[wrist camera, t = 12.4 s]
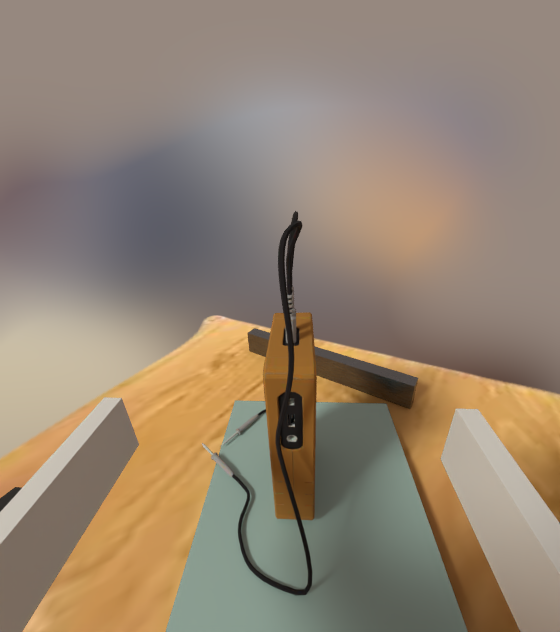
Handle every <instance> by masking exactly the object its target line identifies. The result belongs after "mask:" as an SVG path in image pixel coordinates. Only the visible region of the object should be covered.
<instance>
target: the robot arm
mask: <svg viewBox="0 0 560 632" xmlns="http://www.w3.org/2000/svg"><path fill="white" fill-rule="evenodd" d="M138 445H139V443H138V441H137V438H136V435H135V433H134V430H133V427H132V424H131V422H130V419H129V416H128V414H127V411H126V408H125V406H124V403H123V400H122V398H104V399H103V400H102V401H101V402H100V403H99V404H98V405H97V406H96V407H95V408H94V410H93V411H92V412H91V413H90V414H89V415H88V416H87V417H86V418H85V419H84V421H83V422H82V423H81V424H80V425H79V426H78V427H77V428H76V429H75V430H74V432H73V433H72V434H71V435H70V436H69V437H68V438H67V439H66V440H65V441H64V443H63V444H62V445H61V446H60V447H59V448H58V449H57V450H56V451H55V452H54V454H53V455H52V456H51V457H50V458H49V459H48V460H47V461H46V462H45V463H44V465H43V466H42V467H41V468H40V469H39V470H38V471H37V472H36V473H35V474H34V476H33V477H32V478H31V479H30V480H29V481H28V482H27V483H26V484H25V485H24V487H23V488H19V487H15V488H14V489H12V490H11V491H10V492H8V493H7V494H6V495H4V496H3V497H2V498H0V632H22V631H23V629H24V628H25V626H26V625H27V623H28V621H29V620H30V618H31V617H32V615H33V613H34V612H35V610H36V609H37V607H38V605H39V604H40V602H41V601H42V599H43V597H44V596H45V594H46V593H47V591H48V589H49V588H50V586H51V585H52V583H53V581H54V580H55V578H56V577H57V575H58V573H59V572H60V570H61V569H62V567H63V565H64V564H65V562H66V561H67V559H68V557H69V556H70V554H71V553H72V551H73V549H74V548H75V546H76V544H77V543H78V541H79V540H80V538H81V536H82V535H83V533H84V532H85V530H86V528H87V527H88V525H89V524H90V522H91V520H92V519H93V517H94V516H95V514H96V512H97V511H98V509H99V508H100V506H101V504H102V503H103V501H104V500H105V498H106V496H107V495H108V493H109V492H110V490H111V488H112V487H113V485H114V484H115V482H116V480H117V479H118V477H119V476H120V474H121V472H122V471H123V469H124V468H125V466H126V464H127V463H128V461H129V460H130V458H131V456H132V455H133V453H134V452H135V450H136V448H137V447H138ZM441 461H442V463H443V465H444V467H445V470H446V472H447V474H448V476H449V478H450V480H451V483H452V485H453V487H454V489H455V491H456V493H457V496H458V498H459V500H460V502H461V504H462V506H463V509H464V511H465V513H466V515H467V517H468V519H469V522H470V524H471V526H472V528H473V530H474V532H475V535H476V537H477V539H478V541H479V543H480V545H481V548H482V550H483V552H484V554H485V556H486V558H487V561H488V563H489V565H490V567H491V569H492V571H493V574H494V576H495V578H496V580H497V582H498V584H499V587H500V589H501V591H502V593H503V595H504V597H505V600H506V602H507V604H508V606H509V608H510V610H511V613H512V615H513V617H514V619H515V621H516V623H517V626H518V628H519V630H520V632H560V523H559V522H558V520H557V519H556V517H555V516H554V515H553V513H552V512H551V510H550V509H549V508H548V506H547V505H546V503H545V502H544V501H543V499H542V498H541V496H540V495H539V494H538V492H537V491H536V490H535V488H534V487H533V485H532V484H531V483H530V481H529V480H528V478H527V477H526V476H525V474H524V473H523V471H522V470H521V469H520V467H519V466H518V464H517V463H516V462H515V460H514V459H513V457H512V456H511V455H510V453H509V452H508V450H507V449H506V448H505V446H504V445H503V443H502V442H501V441H500V439H499V438H498V437H497V435H496V434H495V432H494V431H493V430H492V428H491V427H490V425H489V424H488V423H487V421H486V420H485V418H484V417H483V416H482V414H481V413H480V411H479V410H478V409H456V410H455V413H454V417H453V420H452V423H451V427H450V430H449V433H448V436H447V440H446V443H445V446H444V450H443V453H442V456H441Z"/></svg>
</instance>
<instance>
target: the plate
mask: <svg viewBox="0 0 560 632" xmlns="http://www.w3.org/2000/svg"><path fill="white" fill-rule="evenodd" d="M265 409H266V405H265V401H235V403H234V407H233V410H232V413H231V416H230V420H229V423H228V426H227V430H226V433H225V436H224V440H223V443H224V442H225V441H226V440H227V439H228V438H230V437H231V436H232V435H233V434H234V433H236V429H238V428H239V427H240V426H242V425H243V424H244V423H245V422H246V421H248V420H249V419H250V418H251V417H253V416H254V415H256V414H258V413H259V412H261V411H262V410H265ZM223 443H222V444H223ZM219 457H220V458H221V459H222V460H223V461H224V462H225V463H226V464H227V465H228V466H229V467H230V468H231V469H232V471H233V472H234V474H235V475H236V476H237V477H238V478H239V479H240V480H241V481H242V482H243V483H244V485H245V486H246V487H247V488H248V490H249V493H250V501H249V505H248V507H247V510H246V512H245V515H244V517H243V521H242V526H241V534H242V541H243V545H244V549H245V552H246V555H247V557H248V559H249V561H250V562H251V564H252V565H253V566H254V567H255V568H256V570H257V571H259V572H260V573H261V574H263V575H264V576H266V577H268V578H269V579H271V580H273V581H275V582H278V583H280V584H282V585H285V586H288V587H291V588H293V589H305V587H306V586H307V584H308V569H307V562H306V555H305V551H304V547H303V542H302V538H301V534H300V530H299V527H298V523H297V520H294V519H277V518H276V516H275V505H274V494H273V483H272V472H271V462H270V450H269V439H268V428H267V416H266V412H264V413H262V414H261V415H260V416H259V417H258V418H257V419H256V420H255V421H254V422H253V423H252V424H251V425H250V426H248V427H247V428H246V429H245V430H244V431H242V432H241V434H240V435H238V434H236V435H235V436H234V437H233V438H232V439H231V440H229V441H228V442H227V443H226V444H224V445H222V446H221V450H220V453H219ZM246 500H247V493H246V492H245V490H244V489H243V488H242V487H241V485H240V484H239V483H238V482H237V481H236V480H235V479H234V478H233V477H230V476H229V475H228V474H227V473H226V472H225V471H224V470H223V469H222V468H221V467H220V466H219V465H218V464H217V463H216V466H215V469H214V473H213V476H212V479H211V483H210V486H209V489H208V493H207V496H206V499H205V503H204V506H203V509H202V513H201V516H200V519H199V523H198V526H197V529H196V532H195V536H194V539H193V542H192V546H191V549H190V552H189V556H188V559H187V562H186V566H185V569H184V572H183V576H182V579H181V582H180V586H179V589H178V592H177V595H176V599H175V602H174V605H173V609H172V612H171V615H170V619H169V622H168V625H167V629H166V632H468V631H467V628H466V625H465V623H464V620H463V617H462V614H461V611H460V609H459V606H458V603H457V600H456V597H455V594H454V592H453V589H452V586H451V583H450V580H449V578H448V575H447V572H446V569H445V566H444V564H443V561H442V558H441V555H440V552H439V550H438V547H437V544H436V541H435V538H434V536H433V533H432V530H431V527H430V524H429V522H428V519H427V516H426V513H425V510H424V508H423V505H422V502H421V499H420V496H419V494H418V491H417V488H416V485H415V482H414V480H413V477H412V474H411V471H410V468H409V466H408V463H407V460H406V457H405V454H404V452H403V449H402V446H401V443H400V440H399V438H398V435H397V432H396V429H395V426H394V424H393V421H392V418H391V415H390V412H389V410H388V407H387V404H383V403H331V402H316V449H315V514H314V519H313V520H301V521H302V524H303V528H304V531H305V535H306V539H307V544H308V548H309V552H310V558H311V565H312V586H311V588H310V590H309V591H308V593H307V594H306V595H293V594H290V593H288V592H285V591H282V590H280V589H277V588H275V587H273V586H271V585H269V584H267V583H266V582H264V581H262V580H261V579H260V578H258V577H257V576H256V575H255V574H254V573H253V572H252V571H251V570H250V569H249V567H248V566H247V564H246V562H245V560H244V558H243V555H242V552H241V548H240V543H239V538H238V523H239V519H240V515H241V513H242V510H243V508H244V505H245V503H246Z"/></svg>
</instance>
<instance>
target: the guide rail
mask: <svg viewBox="0 0 560 632" xmlns="http://www.w3.org/2000/svg"><path fill="white" fill-rule="evenodd" d="M269 337H270V333H268V332H265V331H262V330H258V329H255V328H254V329H253V330H252V331H250V332H249V333H248V342H249V351H251V352H254V353H256V354H259V355H262V356H265V357H266V353H267V348H268V343H269ZM314 348H315V360H316V375H318V376H320V377H323V378H326V379H329V380H331V381H334V382H337V383H340V384H343V385H345V386H348V387H351V388H354V389H356V390H359V391H362V392H365V393H368V394H370V395H373V396H376V397H379V398H381V399H384V400H387V401H390V402H393V403H395V404H398V405H401V406H404V407H406V408H409V409H410V408H411V405H412V402H413V400H414V395H415V390H416V385H417V381H418V378H417V377H413V376H410V375H407V374H404V373H400V372H397V371H394V370H390V369H387V368H384V367H380V366H377V365H374V364H371V363H367V362H364V361H361V360H357V359H354V358H351V357H347V356H344V355H341V354H338V353H334V352H331V351H328V350H324V349H321V348H318V347H314Z"/></svg>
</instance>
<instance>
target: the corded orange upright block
mask: <svg viewBox="0 0 560 632" xmlns="http://www.w3.org/2000/svg"><path fill="white" fill-rule="evenodd" d="M297 220H298V212H296V211H295V212H294V214H293V218H292V222H291V225H290V226H289V227H288V228H287V229H286V230H285V231H284V233H283V235H282V237H281V240H280V245H279V252H278V268H279V269H278V271H279V282H280V291H281V299H282V306H283V313H275V314H274V316H273V321H272V327H271V332H270V337H269V343H268V348H267V353H266V359H265V363H264V369H263V383H264V394H265V405H266V409H265V410H262V411H261V412H259V413H258V414H256V415H254V416H253V417H251V418H250V419H249V420H248V421H246V422H245V423H244V424H243V425H242V426H240V427H239V428H238V429H236V433H234V434H233V435H232V436H231V437H230V438H228V439H227V440H226V441H225V442H224V443H223V444H222V445H224V444H226V443H227V442H228V441H229V440H231V439H232V438H233V437H234V436H235V435H236V434H238V435H240V434H241V432H242V431H244V430H245V429H246V428H247V427H248V426H250V425H251V424H252V423H253V422H254V421H255V420H256V419H257V418H258V417H259V416H260V415H261V414H262V413H264V412H266V416H267V428H268V439H269V450H270V462H271V472H272V483H273V494H274V505H275V516H276V518H277V519H294V520H297V523H298V527H299V530H300V534H301V538H302V542H303V547H304V551H305V555H306V562H307V569H308V584H307V586H306V587H305V589H293V588H291V587H288V586H285V585H282V584H280V583H278V582H275V581H273V580H271V579H269V578H268V577H266V576H264V575H263V574H261V573H260V572H259V571H257V570H256V568H255V567H254V566H253V565H252V564H251V562H250V561H249V559H248V557H247V555H246V552H245V549H244V545H243V541H242V534H241V526H242V521H243V517H244V515H245V512H246V510H247V507H248V505H249V501H250V493H249V490H248V488H247V487H246V486H245V485H244V483H243V482H242V481H241V480H240V479H239V478H238V477H237V476H236V475H235V474H234V472H233V471H232V469H231V468H230V467H229V466H228V465H227V464H226V463H225V462H224V461H223V460H222V459H221V458H220V457H219V456H218V454H217V453H214V454H213V452H212V451H211V450H210V449H209V448H208V447H207V446H206V445H205V444H203V443H202V445H203V447H204V448H205V449H206V450H207V451H208V452H209V453H210V454H211V455H212V456H211V459H212V460H214V461H215V462H216V463H217V464H218V465H219V466H220V467H221V468H222V469H223V470H224V471H225V472H226V473H227V474H228V475H229V476H230V477H233V478H234V479H235V480H236V481H237V482H238V483H239V484H240V485H241V487H242V488H243V489H244V490H245V492H246V493H247V500H246V503H245V505H244V508H243V510H242V513H241V515H240V519H239V523H238V538H239V543H240V548H241V552H242V555H243V558H244V560H245V562H246V564H247V566H248V567H249V569H250V570H251V571H252V572H253V573H254V574H255V575H256V576H257V577H258V578H260V579H261V580H262V581H264V582H266V583H267V584H269V585H271V586H273V587H275V588H277V589H280V590H282V591H285V592H288V593H290V594H293V595H306V594H307V593H308V591H309V590H310V588H311V586H312V565H311V558H310V552H309V548H308V544H307V539H306V535H305V531H304V528H303V524H302V521H301V520H313V519H314V514H315V449H316V380H317V377H316V360H315V348H314V335H313V323H312V314H311V313H296V309H295V308H294V288H293V287H292V267H293V258H294V248H295V243H296V240H297V238H298V236H299V233H300V230H301V228H302V223H301V221H297ZM288 236H289V241H288V251H287V258H286V270H287V288H286V279H285V265H284V256H285V246H286V240H287V238H288ZM222 445H221V446H222Z"/></svg>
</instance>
